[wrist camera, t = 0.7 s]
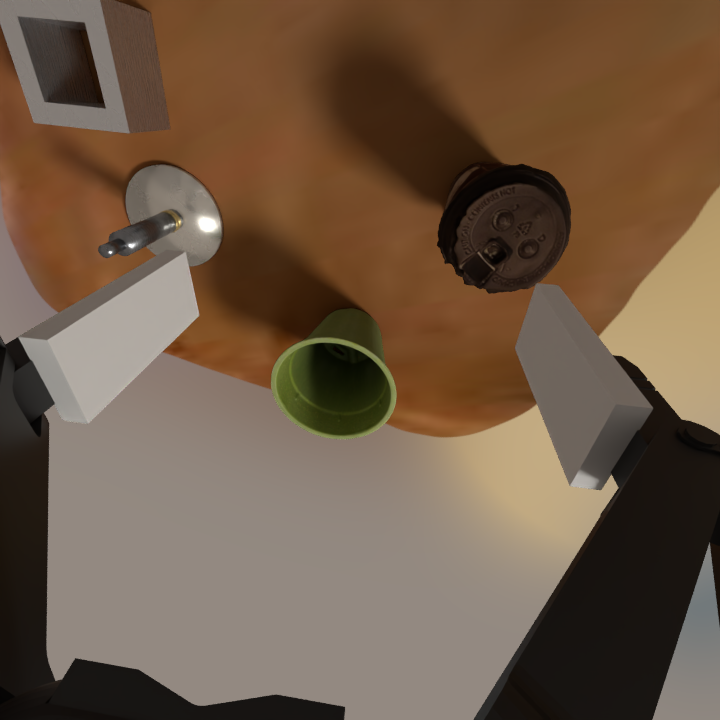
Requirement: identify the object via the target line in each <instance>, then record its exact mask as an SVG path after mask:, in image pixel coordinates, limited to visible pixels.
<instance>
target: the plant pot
mask: <svg viewBox="0 0 720 720" xmlns="http://www.w3.org/2000/svg"><path fill="white" fill-rule="evenodd" d="M334 347H336V348H337V349H338V350H340V351H341V352H344V354H343V355H341V354H339V353H337V352H336V351H334V350H333V348H334ZM358 357H359V358H358ZM271 388H272V392H273V396H274V398H275V400H276V403H277V404H278V406H279V408H280V409H281V410H282V412H283V413H284V414H285V415H286V416H287V417H288V418H289V419H290V420H291V421H292V422H293V423H295V424H296V425H298V426H299V427H301V428H302V429H304V430H306V431H308V432H310V433H313V434H315V435H318V436H322V437H326V438H332V439H353V438H357V437H362V436H365V435H368V434H370V433H372V432H374V431H376V430H377V429H379V428H380V427H381V426H382V425H384V424H385V423H386V421H387V420H388V419H389V417H390V416H391V414H392V412H393V410H394V407H395V404H396V386H395V382H394V379H393V377H392V375H391V373H390V371H389V369H388V368H387V366H386V364H385V359H384V353H383V345H382V338H381V333H380V329H379V327H378V325H377V323H376V322H375V320H374V319H373V318H372V317H371V316H369V315H368V314H367V313H365V312H363V311H360V310H358V309H353V308H348V309H341V310H336V311H334V312H332V313H331V314H329V315H328V316H327V317H326V318H325V319H324V320H323V321H322V322H321V323H320V324H319V325H318V327H317V328H316V329H315V330H314V331H313V332H312V333H311V334H310V335H309V336H308V337H307V338H306V339H304V340H303V341H300V342H298V343H296V344H294V345H292V346H291V347H289V348H288V349H287V350H285V351H284V352H283V353H282V354H281V355H280V357H279V358H278V359H277V361H276V363H275V365H274V367H273V370H272V375H271Z"/></svg>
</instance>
